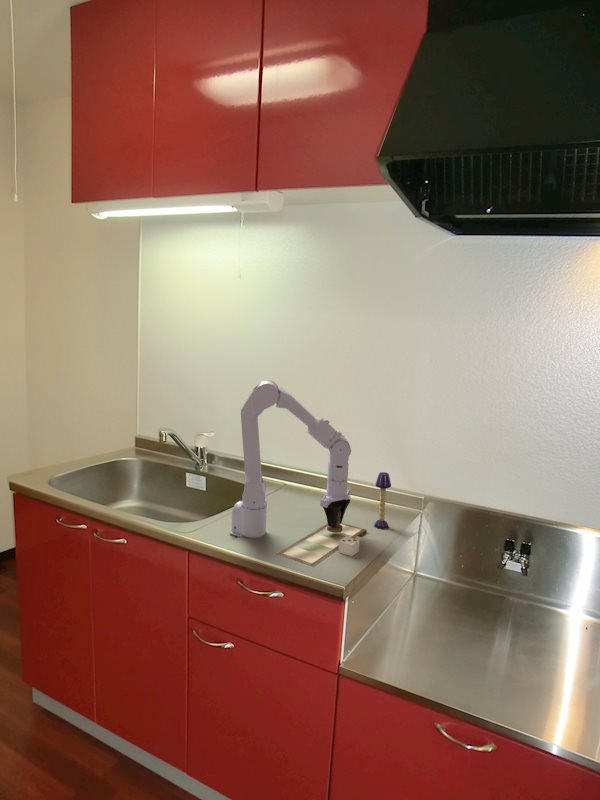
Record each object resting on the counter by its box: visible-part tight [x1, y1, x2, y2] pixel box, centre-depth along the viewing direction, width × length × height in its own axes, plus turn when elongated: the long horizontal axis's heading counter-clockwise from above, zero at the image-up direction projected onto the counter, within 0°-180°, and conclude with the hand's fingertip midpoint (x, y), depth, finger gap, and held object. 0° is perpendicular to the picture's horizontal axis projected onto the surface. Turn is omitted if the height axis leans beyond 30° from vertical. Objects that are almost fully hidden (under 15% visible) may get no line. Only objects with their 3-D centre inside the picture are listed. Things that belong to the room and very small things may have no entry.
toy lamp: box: [373, 471, 392, 530], centre depth 158 cm, size 5×5×17 cm
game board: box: [276, 522, 367, 568], centre depth 144 cm, size 11×30×1 cm, turn 147°
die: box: [337, 536, 360, 557], centre depth 138 cm, size 4×4×4 cm
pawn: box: [327, 511, 343, 533], centre depth 148 cm, size 4×4×6 cm
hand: (334, 524), depth 149 cm, fingers closed on pawn, 3 cm apart
